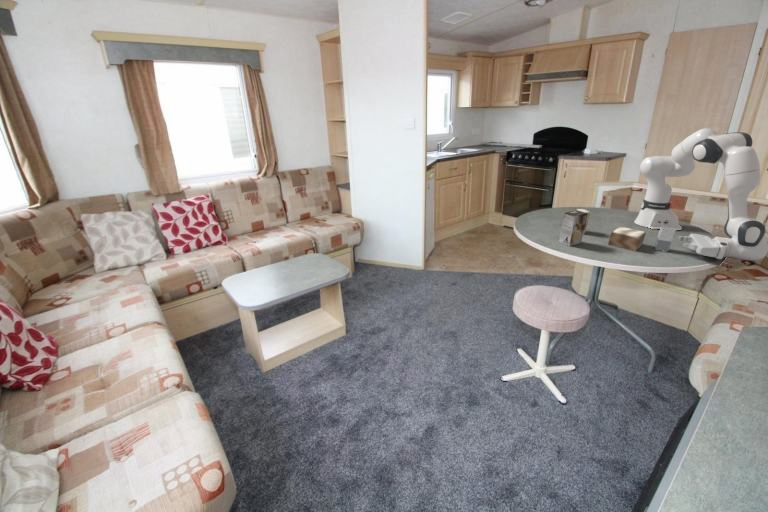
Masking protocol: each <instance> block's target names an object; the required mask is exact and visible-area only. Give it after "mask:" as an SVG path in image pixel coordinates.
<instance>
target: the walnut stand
mask: <svg viewBox="0 0 768 512" xmlns="http://www.w3.org/2000/svg"><path fill="white" fill-rule="evenodd" d="M646 235H647V232H646V231H643V230H638V229H633V228H629V227H624V226H618V227H617V228H615V229H614V230H613V231H611V233H610V237H609V240H608V245H609V246H613V247H618V248H619V249H625V250H629V251H633V252H637V250H639V249H640V247H642V246H643V244H644V239H645V237H646Z"/></svg>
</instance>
